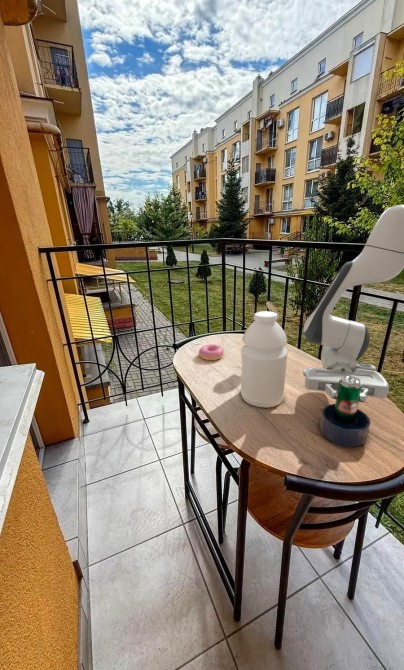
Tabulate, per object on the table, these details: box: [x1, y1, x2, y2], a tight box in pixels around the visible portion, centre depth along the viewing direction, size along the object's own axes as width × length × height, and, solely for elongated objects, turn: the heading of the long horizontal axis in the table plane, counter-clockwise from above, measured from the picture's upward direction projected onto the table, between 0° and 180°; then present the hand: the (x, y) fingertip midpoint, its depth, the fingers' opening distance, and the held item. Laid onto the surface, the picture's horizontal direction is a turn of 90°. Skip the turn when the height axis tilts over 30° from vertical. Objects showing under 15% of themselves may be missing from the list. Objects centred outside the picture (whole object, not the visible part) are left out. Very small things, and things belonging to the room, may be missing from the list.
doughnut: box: [198, 343, 225, 361], centre depth 121 cm, size 11×11×4 cm
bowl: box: [319, 403, 371, 448], centre depth 73 cm, size 11×11×5 cm
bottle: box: [240, 310, 289, 408], centre depth 87 cm, size 14×14×28 cm
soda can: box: [334, 376, 362, 425], centre depth 71 cm, size 5×5×12 cm
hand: (348, 398), depth 70 cm, fingers closed on soda can, 5 cm apart
